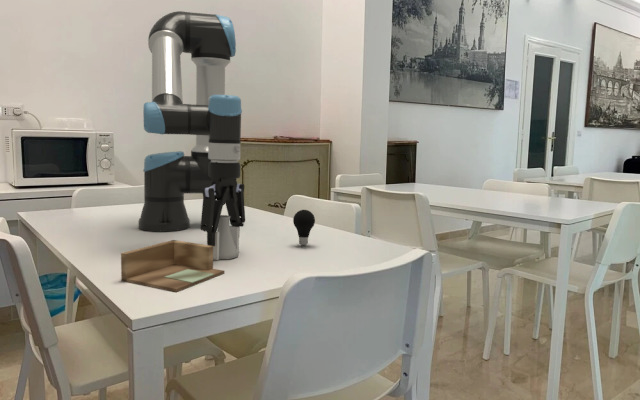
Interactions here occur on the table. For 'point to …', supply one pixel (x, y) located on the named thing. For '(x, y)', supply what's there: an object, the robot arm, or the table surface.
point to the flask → (226, 239)
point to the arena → (169, 265)
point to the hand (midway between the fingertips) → (223, 255)
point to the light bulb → (303, 225)
